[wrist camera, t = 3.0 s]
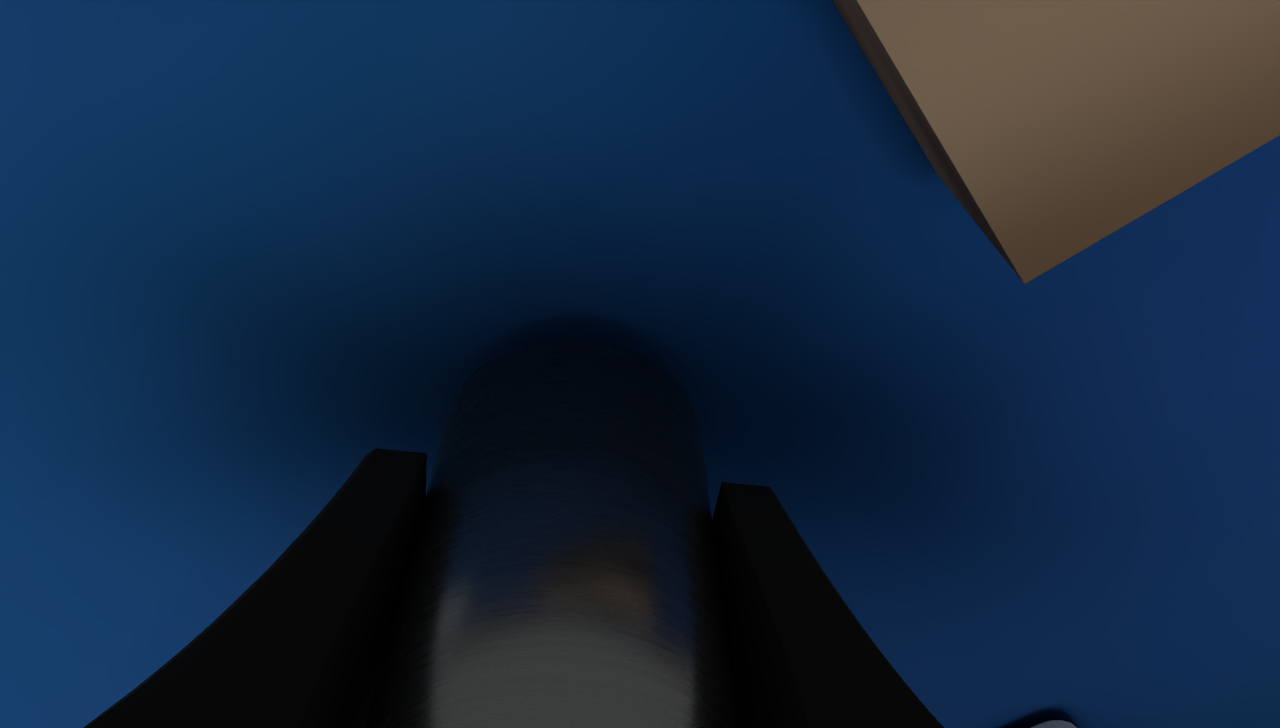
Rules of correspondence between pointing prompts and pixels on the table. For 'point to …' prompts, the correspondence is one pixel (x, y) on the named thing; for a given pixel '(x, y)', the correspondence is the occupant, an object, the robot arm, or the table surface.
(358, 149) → the table surface
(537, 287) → the table surface
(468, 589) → the pin
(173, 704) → the robot arm
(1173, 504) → the table surface
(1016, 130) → the block
